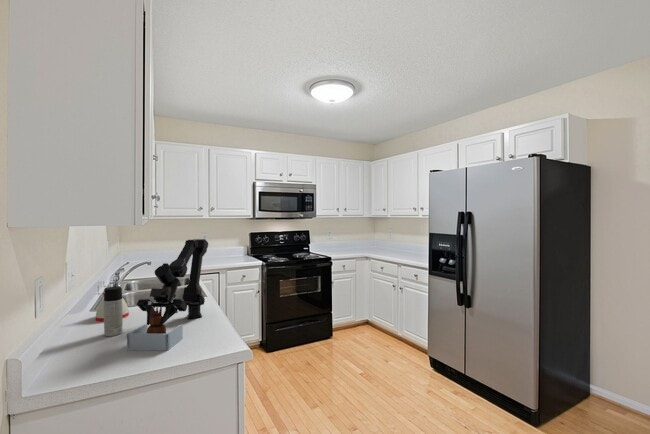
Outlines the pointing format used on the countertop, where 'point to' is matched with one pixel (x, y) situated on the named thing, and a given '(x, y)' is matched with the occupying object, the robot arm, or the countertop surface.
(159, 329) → the wooden figurine
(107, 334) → the spray can
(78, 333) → the countertop surface
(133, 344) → the cubby
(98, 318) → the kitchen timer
